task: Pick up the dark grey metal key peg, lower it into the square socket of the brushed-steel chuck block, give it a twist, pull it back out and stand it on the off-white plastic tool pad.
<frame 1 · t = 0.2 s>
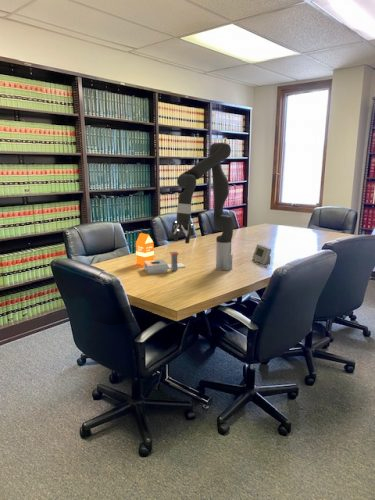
hand: (181, 242, 199), 22 cm above the table, tool pointing down, fingers open, 8 cm apart
digital clock: (261, 262, 244), on the table
tool pad: (175, 266, 234), on the table
chuck block: (155, 270, 225), on the table
orange juice: (145, 264, 241), on the table
key: (174, 270, 226), on the table
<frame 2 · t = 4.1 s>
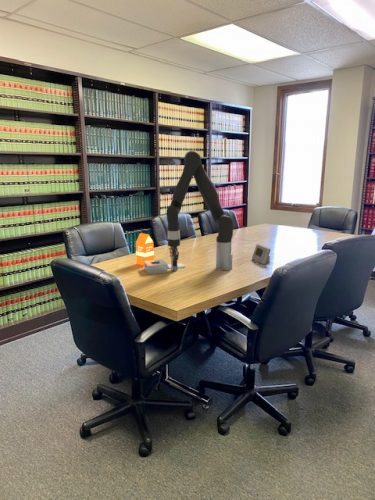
hand: (174, 265, 225), 3 cm above the table, tool pointing down, fingers closed on key, 3 cm apart
key: (174, 270, 226), on the table, touching gripper
everything else where it was.
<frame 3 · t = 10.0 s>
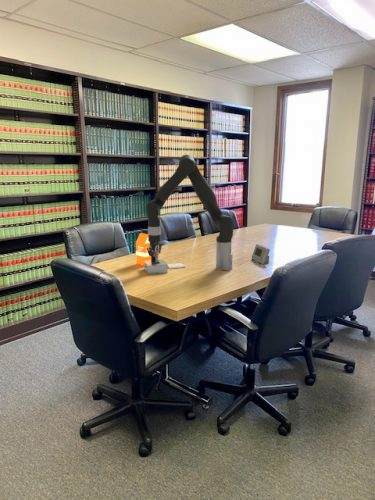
hand: (154, 261, 224), 6 cm above the table, tool pointing down, fingers closed on key, 3 cm apart
key: (155, 269, 225), point 1 cm above the table, touching chuck block, gripper
everything else where it was.
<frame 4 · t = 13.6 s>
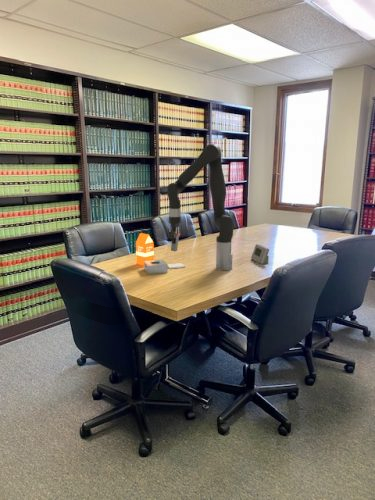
hand: (175, 242, 230), 15 cm above the table, tool pointing down, fingers closed on key, 3 cm apart
key: (174, 250, 232), point 10 cm above the table, tilted 8°, touching gripper
when the fingers open (5 cm above the table, at t = 16.1 s): key stays where it is, resting on tool pad.
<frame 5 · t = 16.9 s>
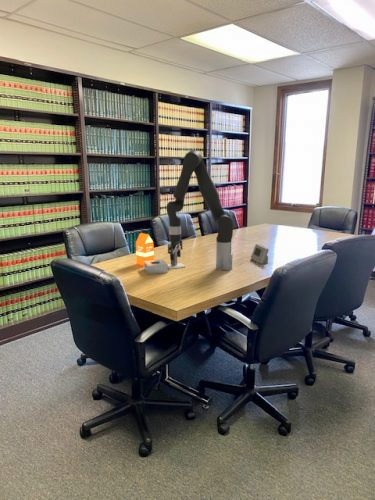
hand: (175, 258, 233), 5 cm above the table, tool pointing down, fingers open, 8 cm apart
key: (174, 265, 234), point 1 cm above the table, touching tool pad
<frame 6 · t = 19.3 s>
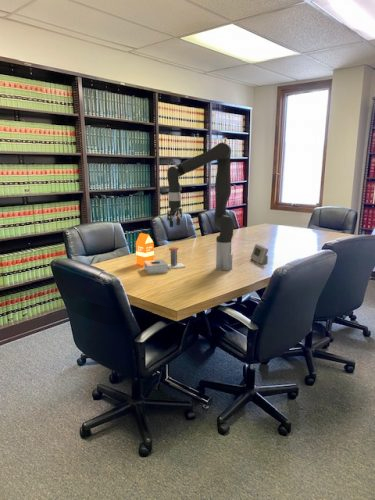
hand: (175, 226, 228), 26 cm above the table, tool pointing down, fingers open, 8 cm apart
at the end: key inside the target area on the tool pad (1.0 cm from its centre), point 0.8 cm above the tool pad's base; the gripper is holding nothing; key touching tool pad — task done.
